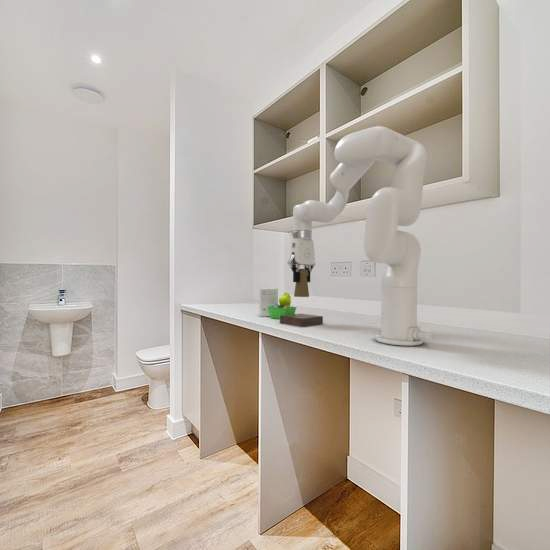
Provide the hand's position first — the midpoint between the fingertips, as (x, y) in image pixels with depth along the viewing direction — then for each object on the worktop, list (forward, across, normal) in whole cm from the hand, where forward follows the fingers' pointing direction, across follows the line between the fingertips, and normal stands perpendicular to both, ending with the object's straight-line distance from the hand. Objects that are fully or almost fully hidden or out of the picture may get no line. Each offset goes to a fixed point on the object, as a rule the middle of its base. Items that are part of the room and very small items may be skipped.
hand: (301, 281), depth 123 cm
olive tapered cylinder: (+6, 0, 0) cm, 6 cm away
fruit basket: (+17, +5, +16) cm, 24 cm away
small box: (+17, +6, +27) cm, 32 cm away
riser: (+17, 0, 0) cm, 17 cm away
